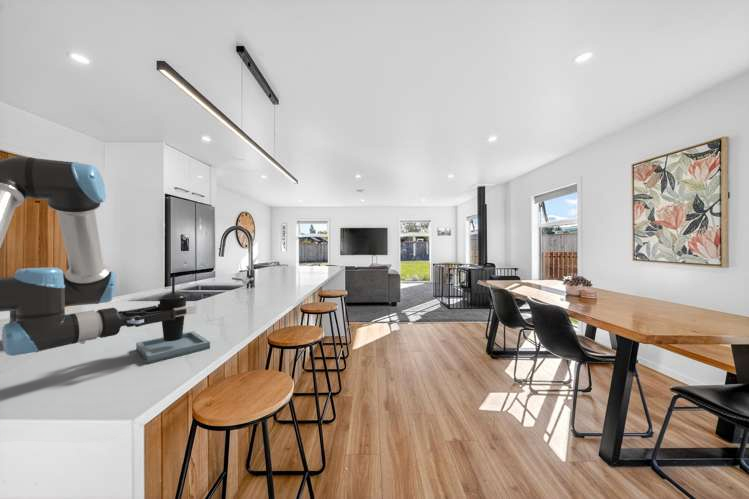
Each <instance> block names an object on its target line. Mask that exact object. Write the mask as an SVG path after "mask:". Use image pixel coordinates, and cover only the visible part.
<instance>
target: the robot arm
mask: <svg viewBox="0 0 749 499" xmlns="http://www.w3.org/2000/svg"><path fill="white" fill-rule="evenodd" d="M106 197H107V196H106V186H105V183H104V179H103V176H102V174H101V172H100V171H99V169H98V168H97V167H96V166H95V165H92V164H89V163H88V164H87V163H80V162H78V161H73V162H72V161H64V160H54V159H47V158H45V159H44V158H35V157H29V156H13V157H7V158H4V159H1V160H0V249H1V248H2V245H3V242H4V240H5V238H6V234H7V233H8V232H7V231H8V228H9V226H10V223H11V221H12V218H13V215H14V213H15V209H16V208H17V207H20V206H21V205H22V204H24V202H25V200H27V199H34V200H47V206H48V207H49V208H50V209H51V210H54V211H55V212H56V213H57V217H58V218H57V219H58V222H59V225H60V226H59V227H60V230H61V231H60V232H61V235H62V236H61V237H62V240H63V244H64V248H65V254H66V258H67V262H68V269H67V270H66V271H65V273H63V272H64V271H63V270H62V269H61V268H59V267H51V266H50V267H46V266H45V267H28V268H19V269H16V271H15V273H14V276H9V277H0V313H1V312H2V313H3V312H9V322H8V323H6V324H4V325H3V327H2V330H1V332H2V333H1V345H2V348H3V352H4V353H5V354H6V355H7V356H11V357H13V356H20V355H25V354H26V355H27V354H31V353H39V352H42V351H46V350H51V349H54V348H59V347H65V346H68V345H74V344H77V343H80V345H83V344H85V343H86V341H92V340H93V341H94V340H97V339H98V338H100V339H103V338H108V337H113V336H116V335H118V334H119V333H120V331H121V328H122V327H126V328H130V327H136V328H138V327H142V326H147V325H150V324H151V325H152V324H156V323H162V321H167V320H175V317H179V316H184V315H185V316H188V315H193V314H196V313H197V305H196V304H191V305H190V304H189V305H186V306H184V307H180V308H174V309H171V310H164V311H161V310H160V303H157V305H151V306H147V307H140V308H134V309H133V308H132V309H129V310H119V311H118V309H117V308H115V307H109V308H101V309H97V310H87V311H80V312H74V313H68V314H66V310H65V308H66V307H72V306H73V307H74V306H75V307H76V306H85V305H86V306H87V305H99V304H105V303H109V302H111V301H113V298H114V294H115V287H116V282H117V281H116V278H117V273H116V271H112V270H111V271H110V268H109V267H108V265H106V264H104V262H103V261H104V260H103V255H102V249H101V241H100V236H99V228H98V224H97V222H98V221H97V215H96V210H98V209H99V208H100V207H101V203H104V202H105V201H106ZM185 316H184V317H185Z"/></svg>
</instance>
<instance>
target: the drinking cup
mask: <svg viewBox="0 0 749 499" xmlns="http://www.w3.org/2000/svg"><path fill="white" fill-rule="evenodd" d="M175 281H176V277H175V275H172V276H171V292H168V293H164V294H162V295H159V296H158V298H157V299H158V300H159V304H160V310H161V311H164V310H171V309H174V308H180V307H184V306H187V298H188V294H185V293H183V292H179V291H175V289H176V288H175V287H176V285H175ZM185 317H186V315H184V316H179V317H175V320H167V321H162V322H161V328H162V335H163V336H162V337H164V341H176V340H179V339H181V338H182V334H183V333H184V324H185Z"/></svg>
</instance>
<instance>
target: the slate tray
mask: <svg viewBox="0 0 749 499" xmlns="http://www.w3.org/2000/svg"><path fill="white" fill-rule="evenodd" d="M135 346H136V347H135V349H136V351H137V352H138V353H139V355H140V356H141V357H142V358H143V360H144V361H145V362H146V363H147V365H150V364H154V363H157V362H163V361H165V360H170V359H174V358H178V357H182V356H186V355H189V354H194V353H197V352H202V351H206V350H210V349H211V342H210V341H209V340H208V339H207V338H205V337H203V336H202V335H201V334H200V333H197V332H195V331H194V330H191V331H188V332H183V334H182V338H181V339H179V340H176V341H164V337H163V336H161V337H158V338H152V339H148V340H143V341H137V342H136V344H135Z"/></svg>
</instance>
